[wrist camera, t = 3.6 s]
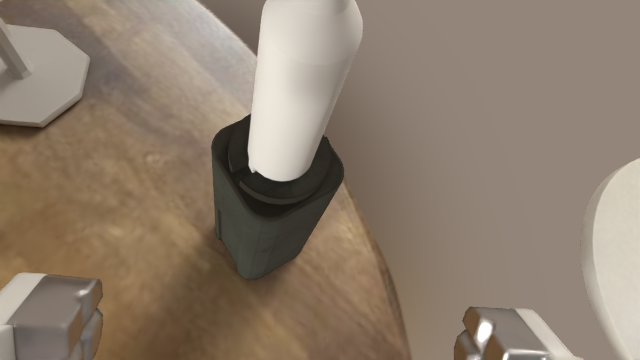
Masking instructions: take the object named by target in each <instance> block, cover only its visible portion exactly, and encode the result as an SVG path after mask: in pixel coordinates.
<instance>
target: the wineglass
mask: <svg viewBox="0 0 640 360" xmlns="http://www.w3.org/2000/svg"><path fill="white" fill-rule="evenodd" d="M1 1H2V0H0V2H1ZM89 64H90V57H89V56H88V55H86V54H85V53H84V52H82V51H81V50H80V49H79V48H77V47H76V46H75V45H74V44H72V43H71V42H70V41H69V40H67V39H66V38H65V37H63V36H62V35H61V34H60V33H58V32H57V31H56V30H51V29H42V28H33V27H24V26H15V25H5V23H4V22H3V20H2V19H1V17H0V124H5V125H18V126H31V127H44V126H45V125H47V124H48V123H49V122H51V121H52V120H53V119H55V118H56V117H57V116H59V115H60V114H61V113H63V112H64V111H65V110H67V109H68V108H69V107H71V106H72V105H73V104H75V103H76V102H77V101H79V100H80V99H81V98H82V94H83V90H84V85H85V81H86V77H87V73H88V68H89Z"/></svg>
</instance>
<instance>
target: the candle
mask: <svg viewBox="0 0 640 360" xmlns="http://www.w3.org/2000/svg"><path fill="white" fill-rule="evenodd" d="M362 29H363V22H362V18H361V15H360V12H359V9H358V7H357V4H356V2H355V0H267V1H266V3H265V5H264V7H263V11H262V17H261V27H260V37H259V46H258V55H257V65H256V75H255V84H254V94H253V104H252V113H251V114H249V115H248V116H246V117H244V118H243V119H242V120H240V121H238V122H236V123H234V124H231V125H229V126H227V127H225V128H223V129H221V130H220V131H219V132H218V133H217V134H216V135H215V137H214V139H213V141H212V146H211V150H212V168H213V187H214V206H215V225H216V235H217V237H218V239H222V241H223V242H224V244H225V246H226V247H227V249H228V251H229V253H230V254H231V256H232V258H233V259H234V261H235V263H236V265H237V272H238V273H239V274H240V275H241V276H242V277H243V278H246V279H249V280H255V279H259V278H261V277H263V276H264V275H266V274H268V273H269V272H271V271H273V270H274V269H276V268H278V267H280V266H281V265H283V264H285V263H286V262H288V261H290V260H291V259H293V258H295V257H296V256H297V255H298V254H299V253H300V251H301V250H302V248H303V246H304V245H305V243H306V241H307V240H308V238H309V236H310V235H311V233H312V231H313V230H314V228H315V226H316V225H317V223H318V221H319V220H320V218H321V216H322V215H323V213H324V211H325V210H326V208H327V206H328V205H329V203H330V201H331V200H332V198H333V196H334V195H335V193H336V191H337V189H338V188H339V186H340V184H341V183H342V180H343V177H344V167H343V164H342V162H341V160H340V158H339V157H338V155H337V154H336V152H335V151H334V149H333V148H332V147H331V145H330V143H329V140H328V139H327V137H324V135H323V133H324V131H325V128H326V126H327V123H328V121H329V118H330V116H331V113H332V111H333V108H334V106H335V104H336V101H337V99H338V96H339V94H340V91H341V89H342V86H343V84H344V81H345V79H346V76H347V74H348V71H349V69H350V66H351V64H352V61H353V59H354V56H355V54H356V52H357V49H358V47H359V44H360V42H361V39H362V31H363V30H362Z"/></svg>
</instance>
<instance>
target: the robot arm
mask: <svg viewBox="0 0 640 360" xmlns="http://www.w3.org/2000/svg"><path fill="white" fill-rule="evenodd" d="M102 297H103V293H102V282H101V281H100V279H94V278H84V277H73V276H62V275H51V274H49V275H47V274H40V273H25V272H22V273H19V274H16V275H15V276H14V277H13V278H12V279H11V280H10V281H9V282H8V283H7V285H6V286H5V287H4V288H3V289H2V290H1V291H0V360H93V359H94V356H95V354H96V352H97V350H98V346H99V343H100V339H101V335H102V327H103V314H102V313H101V312H100V311H99V310H98V308H97V306H98V304H99V303H100V301H101V299H102ZM463 323H464V326H465V328H466V330H464V331H463V332H462V333H461V334H460V335H458V336H457V339H456V343H455V346H454V360H584V359H583V358H581V357H574V356H573V355H572V353H571V352H570V351H569V350H568V349H567V348H566V347H565V345H564V344H563V343H562V342H561V341H560V340H559V339H558V337H557V336H556V335H555V334H554V333H553V332H552V331H551V329H550V328H549V327H548V326H547V325H546V324H545V322H544V321H543V320H542V319H541V318H540V317H539V316H538V314H537V313H536V312H534V311H532V310H530V309H512V308H511V309H503V308H485V307H469V308H468V310H467V311H466V312H465V315H464V318H463Z"/></svg>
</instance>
